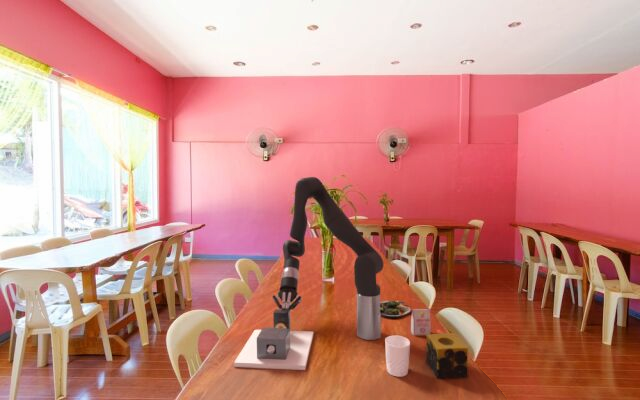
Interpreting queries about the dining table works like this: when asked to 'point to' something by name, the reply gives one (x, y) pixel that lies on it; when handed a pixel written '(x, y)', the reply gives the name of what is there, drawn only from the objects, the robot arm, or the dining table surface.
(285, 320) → the shaft
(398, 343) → the white cup
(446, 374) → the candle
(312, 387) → the dining table surface
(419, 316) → the white cardboard box
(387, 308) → the salad plate
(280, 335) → the block
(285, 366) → the base board
